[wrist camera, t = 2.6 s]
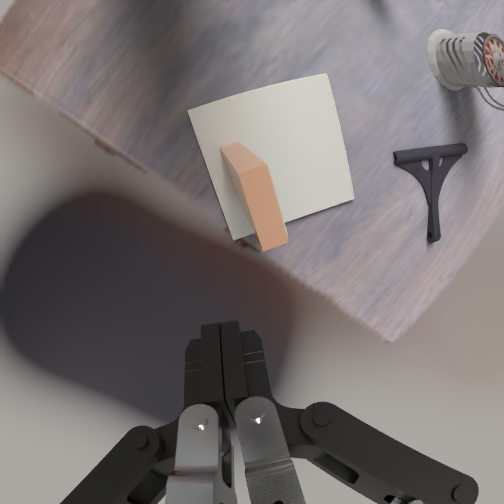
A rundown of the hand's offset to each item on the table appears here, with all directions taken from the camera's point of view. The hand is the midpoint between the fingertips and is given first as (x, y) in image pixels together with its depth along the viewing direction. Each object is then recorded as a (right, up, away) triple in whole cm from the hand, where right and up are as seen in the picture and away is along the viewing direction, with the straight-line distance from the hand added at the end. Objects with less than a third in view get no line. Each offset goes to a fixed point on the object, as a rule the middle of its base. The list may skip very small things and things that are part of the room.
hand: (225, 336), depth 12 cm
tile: (-1, +12, +21) cm, 25 cm away
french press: (+30, +30, +20) cm, 47 cm away
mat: (+4, +14, +22) cm, 27 cm away
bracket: (+27, +12, +29) cm, 42 cm away
